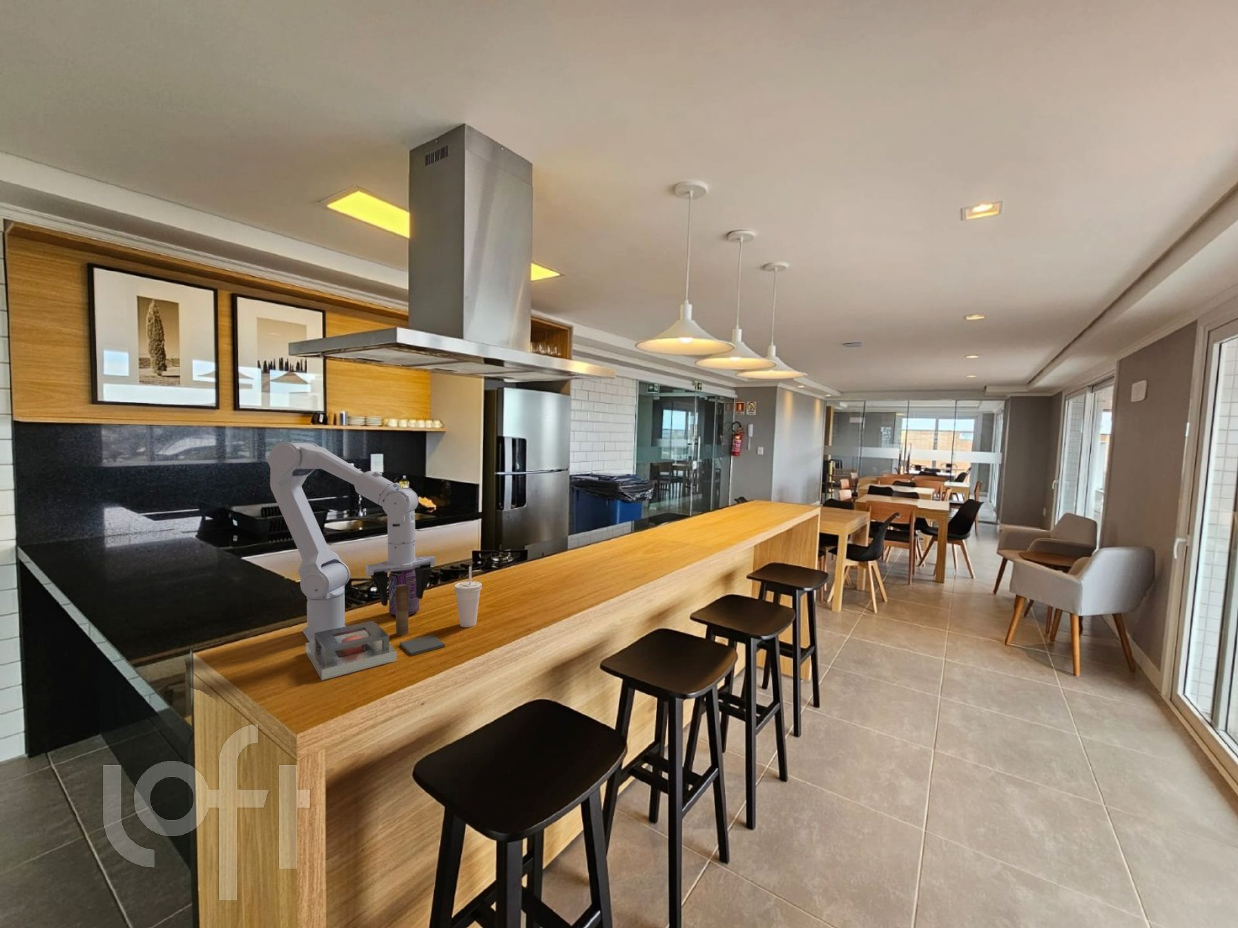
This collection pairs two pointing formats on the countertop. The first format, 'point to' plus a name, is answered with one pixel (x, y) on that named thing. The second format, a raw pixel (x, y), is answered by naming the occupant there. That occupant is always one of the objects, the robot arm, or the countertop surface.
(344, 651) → the breaker plunger
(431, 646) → the rubber pad
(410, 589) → the beverage can
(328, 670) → the box
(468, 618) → the smoothie
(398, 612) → the walnut dowel
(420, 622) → the countertop surface
